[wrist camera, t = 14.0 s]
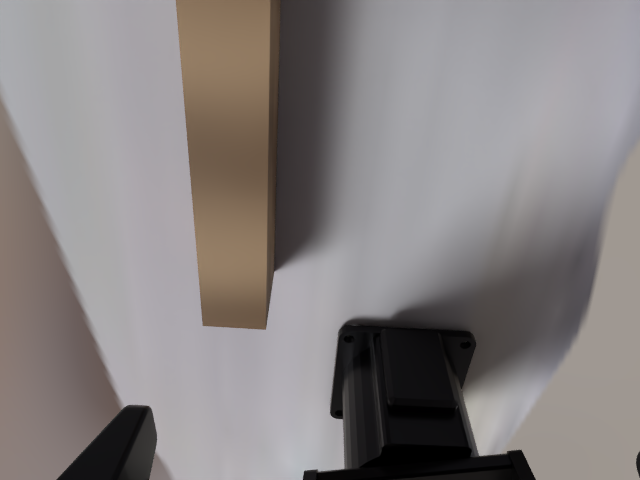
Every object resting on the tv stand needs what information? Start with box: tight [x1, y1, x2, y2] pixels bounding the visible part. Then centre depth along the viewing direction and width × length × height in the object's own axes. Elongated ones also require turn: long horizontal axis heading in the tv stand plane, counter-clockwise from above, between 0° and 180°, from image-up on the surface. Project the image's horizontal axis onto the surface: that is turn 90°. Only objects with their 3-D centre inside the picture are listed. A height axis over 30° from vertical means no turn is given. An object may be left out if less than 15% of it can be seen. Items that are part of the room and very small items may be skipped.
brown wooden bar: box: [176, 0, 281, 330], centre depth 16 cm, size 18×4×4 cm, turn 176°
